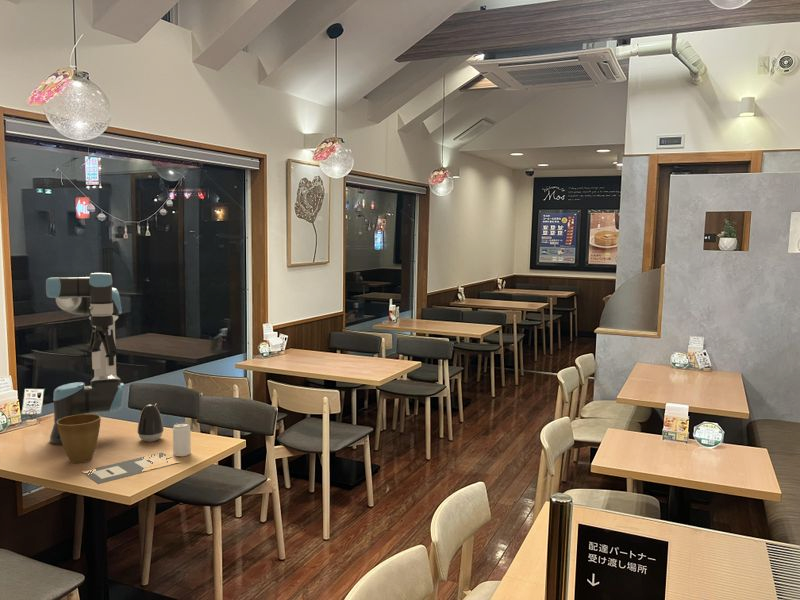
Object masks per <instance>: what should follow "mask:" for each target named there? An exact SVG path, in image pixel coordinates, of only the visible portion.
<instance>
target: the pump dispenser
mask: <svg viewBox="0 0 800 600" xmlns="http://www.w3.org/2000/svg"><path fill="white" fill-rule="evenodd" d="M158 406H159V404H158V403H155V404H153V403H152V404H151V403H149V404H146V405H145V406H144V407H143V408H142V410H141V412H140V416H139V419H138V423H137V434H138V437H139V438H140V439H141V441H143V442H146V441H147V443H148V442H149V443H151V442H156V441H157V440H159V439H161V437H162V435H163V432H164V430H165V429H164V423H163V419H162V416H161V412H160V410H159V409H158Z"/></svg>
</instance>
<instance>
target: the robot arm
mask: <svg viewBox="0 0 800 600" xmlns="http://www.w3.org/2000/svg"><path fill="white" fill-rule="evenodd" d="M45 293H46V297H47V298H53V299H55V304H56V305H57V307H58V308H60V309H61V310H62V311H64V312H67V313H70V314H74V315H78V316H79V315H82V316H83V315H84V316H85V315H86V316H87V315H88V319H89V321H90V326H91V334H90V341H89V345H88V347H89V348H88V349H89V350H90V351H91V363H92V364H91V366H92V370H93V371H94V372H93V373H94V375H93V376H94V377H92V379H91V380H90V385H86V384H85V382H82V381H79V382H70V383H66V384H62V385H60V386H58V387H56V388H55V389H54V390H53V399H52V401H53V414H54V415H53V416H54V417H53V419H54V420H53V421H54V422H53V426H52V429H51V432H50V436H49V443H50V444H52V443H53V444H52V445H57V444H59V445H62V442H61V439H60V435H59V431H58V427H57V421H58V420H59V419H61V418H64V417H68V416H73V415H79V414H98V413H110V412H115V411H119V410H121V408H122V406H123V398H124V390H125V383H123V382H121V378H120V377H119V376H118V375H117V355H118V351H117V347H116V321H117V320H118V319H119V315H121V314H122V311H123V309H122V303H121V296H120V293H119V290H118V289H117V288H116V287H113V276H112V274H111V273H109V272H108V273H107V272H94V273H93V272H91V273H90V274H89V276H85V277H84V276H82V277H81V276H80V277H59V276H58V277H57V276H56V277H47V279H45ZM59 445H58V446H59ZM62 446H63V445H62Z"/></svg>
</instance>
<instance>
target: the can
mask: <svg viewBox="0 0 800 600" xmlns="http://www.w3.org/2000/svg"><path fill="white" fill-rule="evenodd" d="M191 445H192V444H191V427H190V424H189V422H177V423H174V424H173V427H172V446H173V447H172V449H173V450H172V454H173V456H174V457H176V456H184V457H187V456H186V455H188V456H189V455H191V452H192V451H191V450H192V448H191Z"/></svg>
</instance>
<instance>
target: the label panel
mask: <svg viewBox="0 0 800 600" xmlns="http://www.w3.org/2000/svg"><path fill="white" fill-rule="evenodd" d="M155 454H156V453H154V454H150V455H151V457H152V455H154V456H155ZM163 455H164V456H166V455H167V454H166V453H164V452H159V457H158V458H159V459H158V460H159V461H160V460H163V459H161V457H163ZM144 457H145V456H141V457H137V458H132V459H128V460H124V461H119V462H116V463H115V462H114V463H111V464H110V463H109V464H106V465H103V466H98V467H94V468H95V469H96V471H94V472H93V473H92V471H93V470H92V471H91V472H90V471H89V472H88V473H83V474H84V475H85V474H86V475H85V476H87V477H88V478H89V477H90V478H89V479H90V480H92V481H93V482H95V483H97V485H99V484H102V483H103V484H104V483H107V482H111V481H115V480H118V478H119V479H123V478H126V477H132V476H134V474H135V475H138V473H139V474H142V473H141V472H142V470H143V469H144V468H147V467H151V466H148V465H147V464H153V462H154V461H157V460H152V459H155V458H156V459H157V457H153V458H150V457H149V459H150V460H151V461H150V460H149V459H145V460H143V459H144ZM142 458H143V459H142ZM170 458H172V457H171V456H170ZM170 458H166V460H167V459H170ZM152 461H153V462H152ZM146 462H150V463H146ZM151 462H152V463H151ZM162 462H164V461H162ZM165 462H166V461H165ZM159 463H161V462H159ZM166 463H168V461H167V462H166ZM89 473H90V474H89ZM91 473H92V474H91ZM88 474H89V475H88ZM114 479H115V480H114ZM110 480H111V481H110Z"/></svg>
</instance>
